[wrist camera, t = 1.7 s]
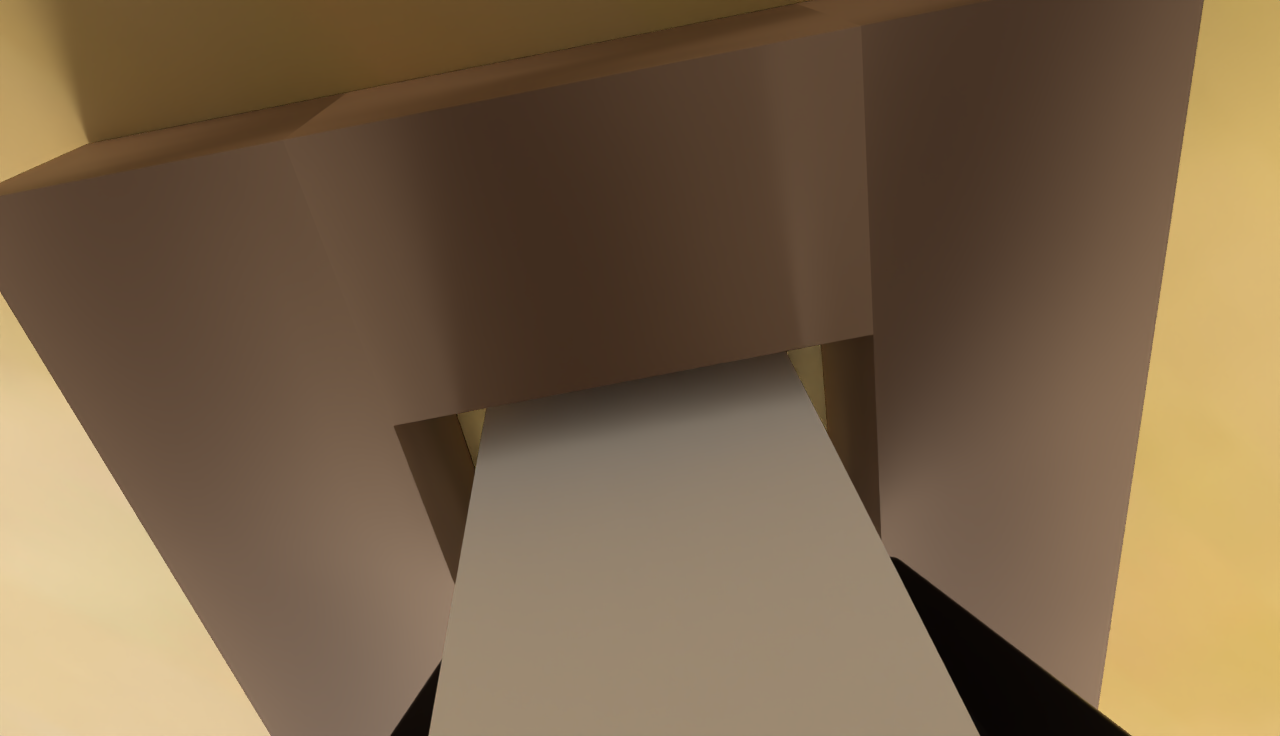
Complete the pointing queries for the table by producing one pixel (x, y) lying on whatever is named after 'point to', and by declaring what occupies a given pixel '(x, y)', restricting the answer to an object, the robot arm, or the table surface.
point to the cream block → (680, 573)
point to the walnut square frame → (625, 306)
